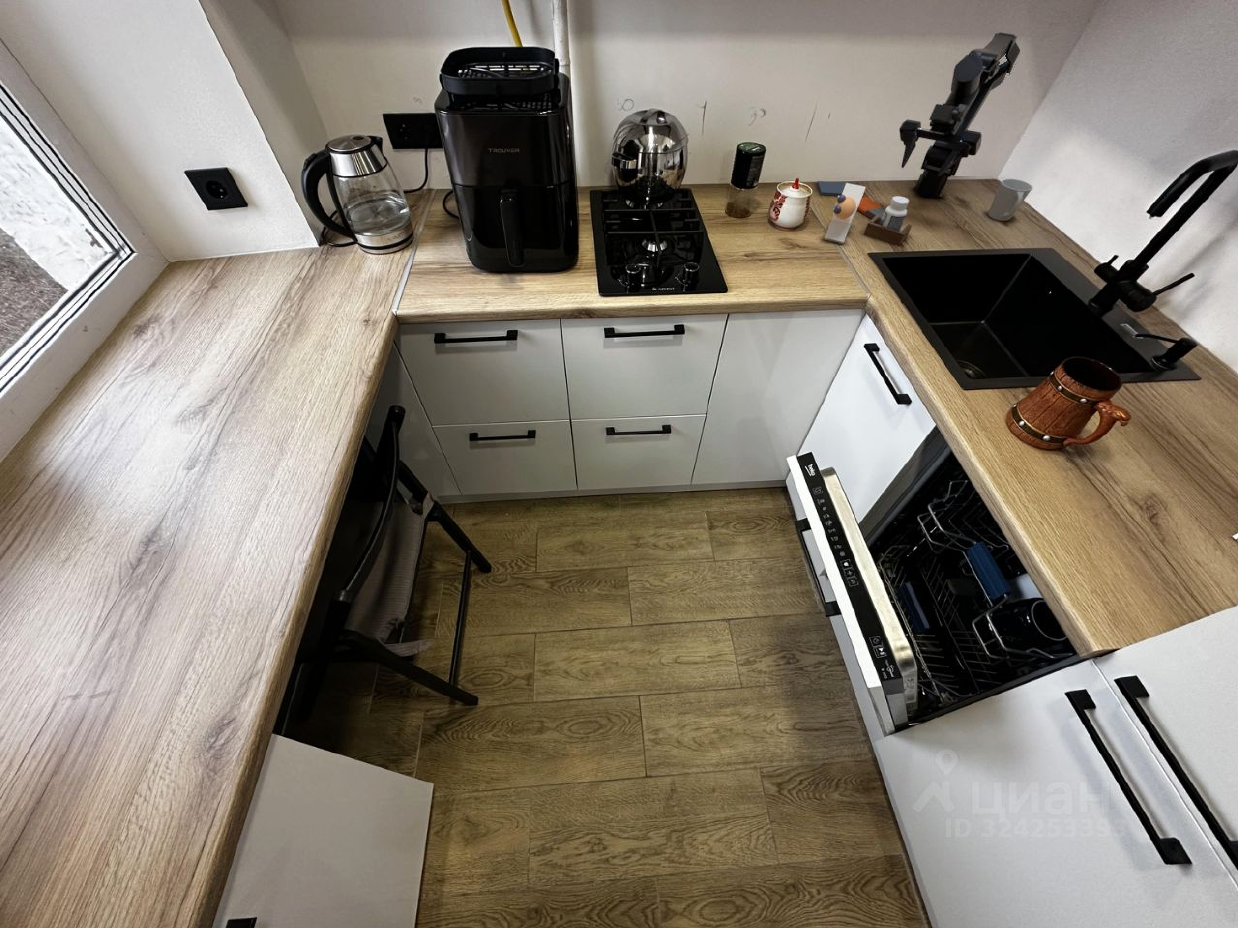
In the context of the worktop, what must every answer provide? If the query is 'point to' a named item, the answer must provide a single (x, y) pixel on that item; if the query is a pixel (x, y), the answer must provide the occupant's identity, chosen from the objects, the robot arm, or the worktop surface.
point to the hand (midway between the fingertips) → (920, 171)
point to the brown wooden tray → (886, 232)
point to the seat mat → (832, 188)
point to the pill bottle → (895, 213)
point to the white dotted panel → (844, 212)
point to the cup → (1009, 198)
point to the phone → (870, 208)
